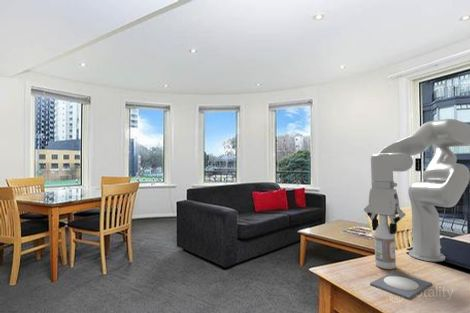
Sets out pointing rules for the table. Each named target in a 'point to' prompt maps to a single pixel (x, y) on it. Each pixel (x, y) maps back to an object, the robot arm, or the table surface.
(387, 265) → the bath foam
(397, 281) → the rubber mat
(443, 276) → the table surface
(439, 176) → the robot arm
